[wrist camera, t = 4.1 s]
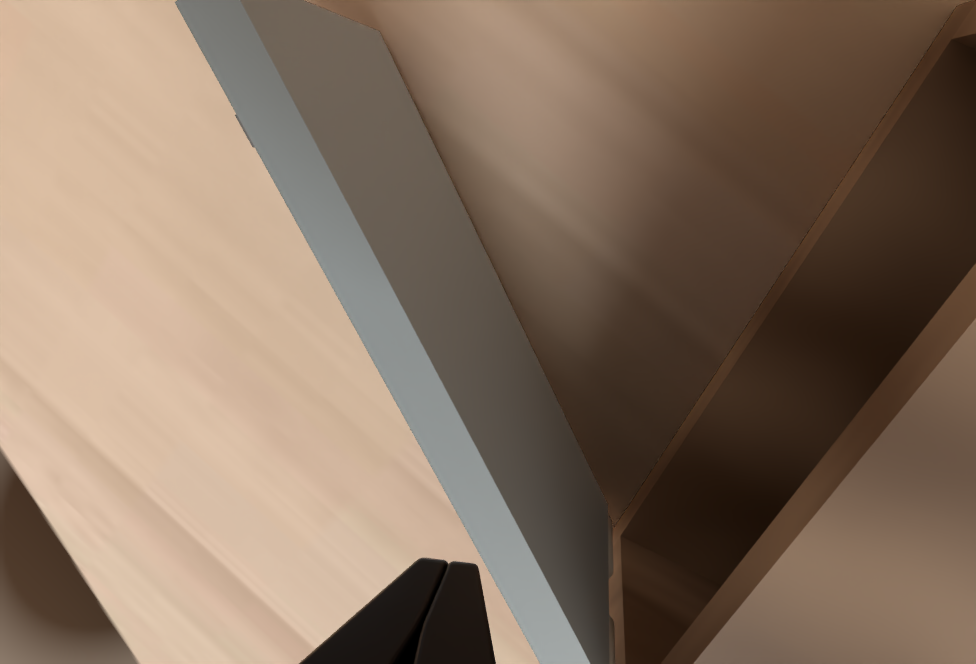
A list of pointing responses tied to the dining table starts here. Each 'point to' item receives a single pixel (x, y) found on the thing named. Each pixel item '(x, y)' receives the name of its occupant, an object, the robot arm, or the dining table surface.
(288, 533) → the dining table surface
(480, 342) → the cabinet door
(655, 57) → the dining table surface
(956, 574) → the cabinet
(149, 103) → the dining table surface
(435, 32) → the dining table surface
